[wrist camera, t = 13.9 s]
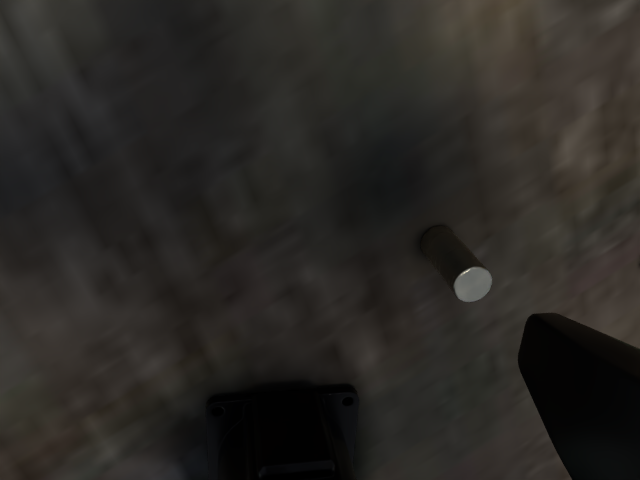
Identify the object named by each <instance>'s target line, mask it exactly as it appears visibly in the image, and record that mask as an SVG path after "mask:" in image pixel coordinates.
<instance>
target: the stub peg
mask: <svg viewBox="0 0 640 480" xmlns="http://www.w3.org/2000/svg"><path fill="white" fill-rule="evenodd" d="M421 249H422V251H423V253H424V254H425V256H426V257H427V258H428V260H429V261H430V262H431V264H432V265H433V266H434V268H435V269H436V270H437V272H438V273H439V274H440V276H441V277H442V278H443V280H444V281H445V282H446V284H447V285H448V286H449V288H450V289H451V290H452V292H453V293H454V294H455V296H456V297H457V298H458V299H460V300H461V301H464V302H474V301H477V300H480V299H481V298H483V297H484V296H485V295H486V294H487V293H488V292H489V290H490V288H491V286H492V276H491V274H490V272H489V271H488V270H487V269H486V267H485V266H484V265H483V264H482V263H481V262H480V261H479V260H478V259H477V258H476V257H475V255H474V254H473V253H472V252H471V251H470V250H469V249H468V248H467V247H466V246H465V245H464V243H463V242H462V241H461V240H460V239H459V238H458V237H457V236H456V235H455V234H454V233H453V231H452V230H451V229H449V228H448V227H445V226H436V227H433V228H431V229H429V230H428V231H427V232H426V233H425V234H424V236H423V237H422V240H421Z"/></svg>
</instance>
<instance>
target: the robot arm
mask: <svg viewBox="0 0 640 480" xmlns="http://www.w3.org/2000/svg"><path fill="white" fill-rule="evenodd" d="M518 365H519V369H520V372H521V374H522V376H523V378H524V381H525V383H526V385H527V387H528V390H529V392H530V394H531V396H532V399H533V401H534V403H535V405H536V408H537V410H538V412H539V414H540V417H541V419H542V421H543V423H544V425H545V428H546V430H547V432H548V434H549V437H550V439H551V441H552V443H553V445H554V447H555V449H556V451H557V453H558V455H559V457H560V459H561V460H562V462H563V464H564V466H565V468H566V469H567V471H568V473H569V475H570V476H571V478H572V480H640V349H638V348H636V347H634V346H631V345H629V344H627V343H624V342H622V341H620V340H617V339H615V338H613V337H610V336H608V335H606V334H603V333H601V332H599V331H597V330H594V329H592V328H590V327H587V326H585V325H583V324H580V323H578V322H576V321H573V320H571V319H569V318H566V317H564V316H562V315H559V314H557V313H538V314H532V315H531V316H529V317H528V319H527V321H526V324H525V328H524V333H523V337H522V341H521V345H520V349H519V353H518ZM346 397H350V398H349V399H348V400H343V399H344V398H346ZM358 406H359V397H358V394H357V391H356V390H355V389H354V388H352V387H348V386H345V387H331V388H318V389H304V390H291V391H277V392H264V393H251V394H237V395H224V396H215V397H212V398H211V399H209V400H208V402H207V403H206V428H207V449H208V470H209V480H356V476H355V473H354V469H353V457H354V447H355V436H356V426H357V416H358ZM216 407H221V408H222V409H220V410H215V409H214V408H216Z"/></svg>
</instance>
